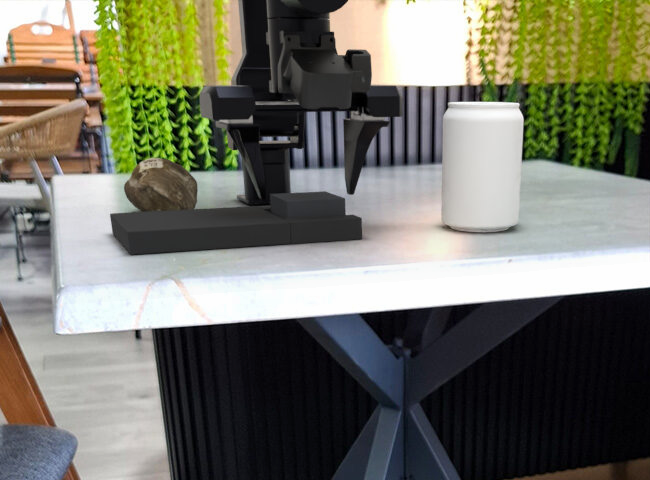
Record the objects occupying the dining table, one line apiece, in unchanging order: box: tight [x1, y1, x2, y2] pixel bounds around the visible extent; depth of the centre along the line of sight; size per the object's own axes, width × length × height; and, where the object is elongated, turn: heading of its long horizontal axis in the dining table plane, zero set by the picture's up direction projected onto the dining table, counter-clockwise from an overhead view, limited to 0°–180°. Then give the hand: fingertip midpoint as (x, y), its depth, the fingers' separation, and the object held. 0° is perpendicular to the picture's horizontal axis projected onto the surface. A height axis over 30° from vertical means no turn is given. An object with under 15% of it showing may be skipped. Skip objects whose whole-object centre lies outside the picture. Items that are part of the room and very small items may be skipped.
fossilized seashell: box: [123, 157, 199, 212], centre depth 100 cm, size 8×7×10 cm
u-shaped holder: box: [109, 204, 363, 256], centre depth 88 cm, size 12×22×2 cm, turn 114°
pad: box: [269, 191, 347, 219], centre depth 90 cm, size 6×6×4 cm
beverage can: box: [440, 101, 525, 233], centre depth 92 cm, size 8×8×12 cm
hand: (307, 196), depth 89 cm, fingers open, 9 cm apart
